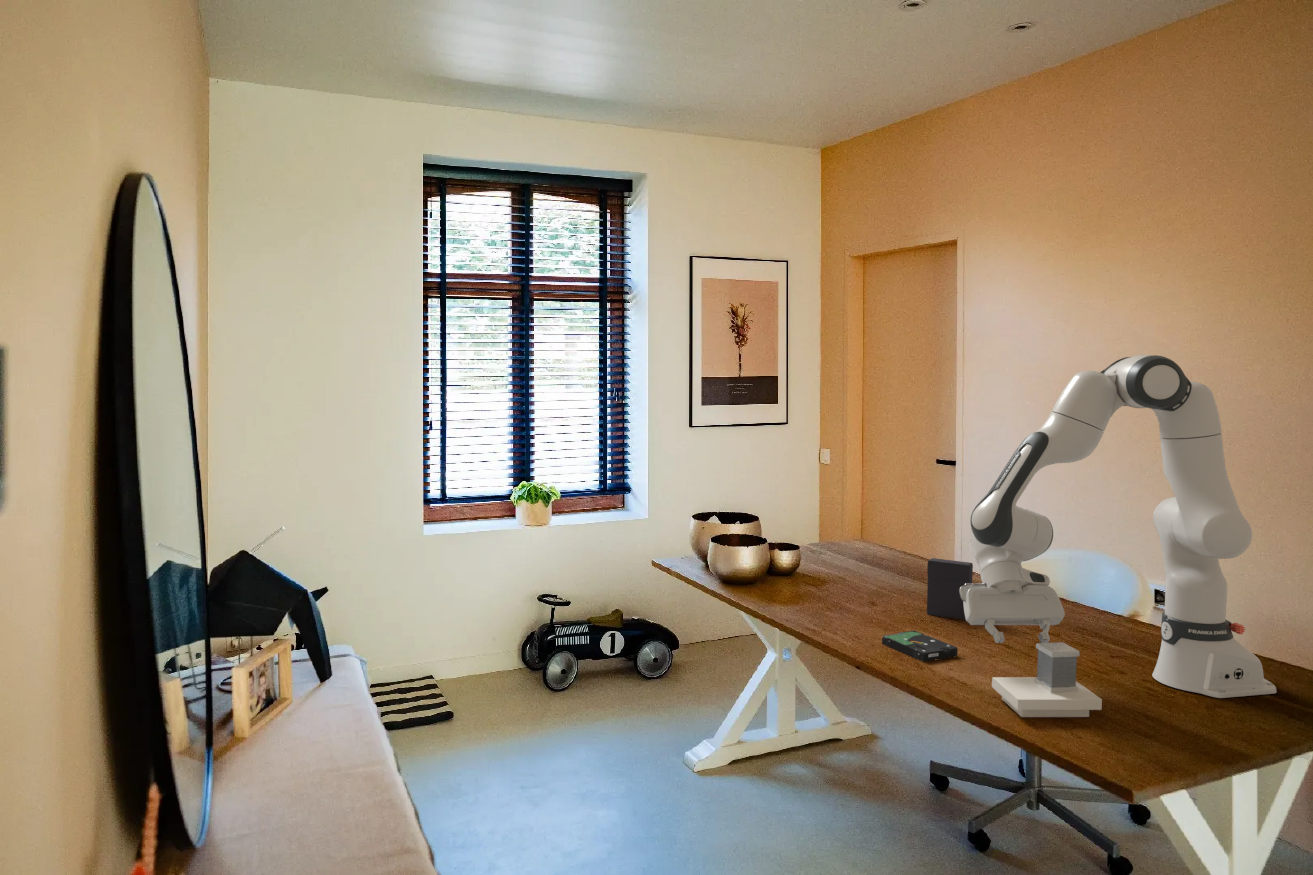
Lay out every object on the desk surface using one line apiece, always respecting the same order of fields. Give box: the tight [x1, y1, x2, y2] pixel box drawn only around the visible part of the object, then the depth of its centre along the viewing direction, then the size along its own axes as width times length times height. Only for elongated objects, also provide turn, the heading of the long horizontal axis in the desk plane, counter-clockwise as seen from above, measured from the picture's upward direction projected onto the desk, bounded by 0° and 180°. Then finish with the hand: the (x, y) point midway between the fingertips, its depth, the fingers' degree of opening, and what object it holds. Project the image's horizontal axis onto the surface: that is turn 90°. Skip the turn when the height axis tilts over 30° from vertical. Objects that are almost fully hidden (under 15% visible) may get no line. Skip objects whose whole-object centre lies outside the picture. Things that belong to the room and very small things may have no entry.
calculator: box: [926, 557, 974, 621], centre depth 235 cm, size 11×4×15 cm, turn 58°
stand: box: [991, 676, 1103, 718], centre depth 171 cm, size 16×12×4 cm
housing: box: [1034, 642, 1080, 693], centre depth 171 cm, size 6×6×8 cm
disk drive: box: [881, 630, 959, 663], centre depth 207 cm, size 10×3×15 cm
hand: (1022, 641), depth 181 cm, fingers open, 8 cm apart
